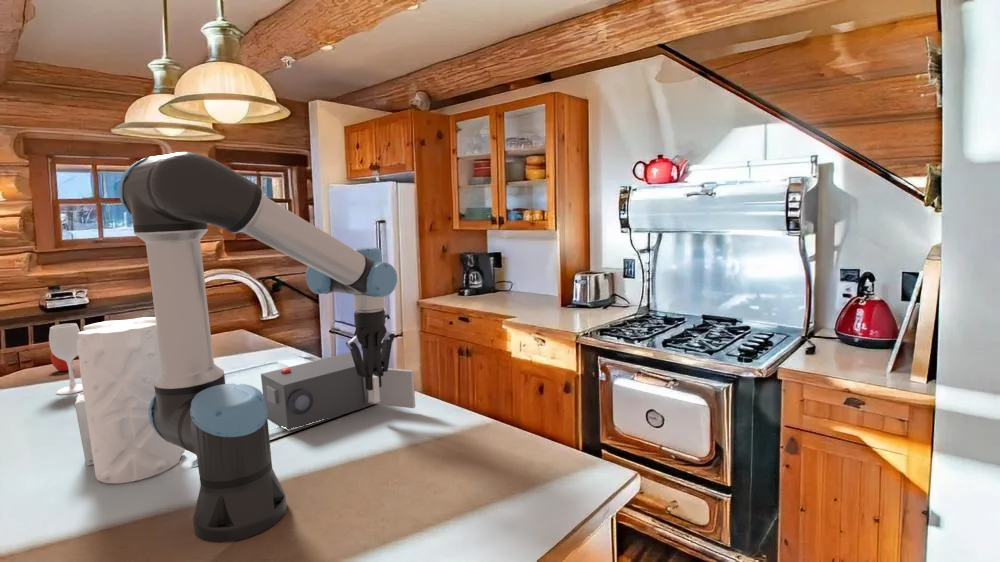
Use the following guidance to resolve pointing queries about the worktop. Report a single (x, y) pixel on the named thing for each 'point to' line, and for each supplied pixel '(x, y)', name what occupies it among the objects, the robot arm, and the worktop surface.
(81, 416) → the skincare box
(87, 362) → the vase
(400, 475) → the worktop surface
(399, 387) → the side door
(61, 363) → the apple
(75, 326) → the wineglass
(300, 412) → the camera body
